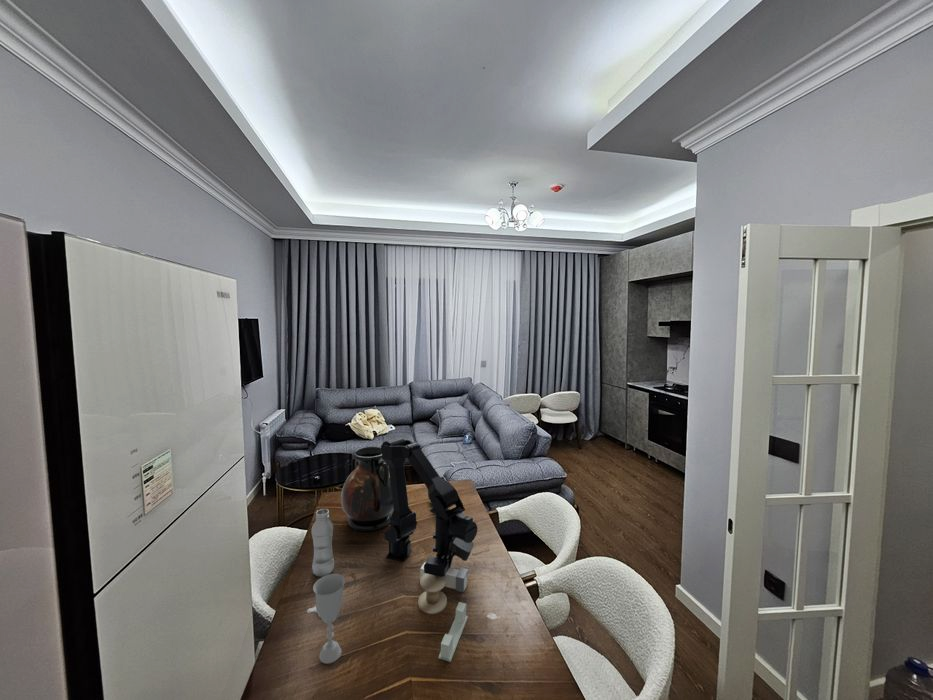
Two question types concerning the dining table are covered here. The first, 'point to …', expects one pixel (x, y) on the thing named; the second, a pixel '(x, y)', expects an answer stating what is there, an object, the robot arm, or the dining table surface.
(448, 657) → the notched board
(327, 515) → the plastic bottle
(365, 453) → the amphora vase
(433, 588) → the bobbin
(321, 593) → the chalice
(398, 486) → the robot arm
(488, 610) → the dining table surface
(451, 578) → the mallet
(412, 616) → the dining table surface
